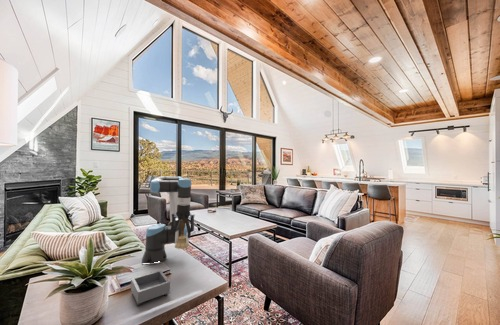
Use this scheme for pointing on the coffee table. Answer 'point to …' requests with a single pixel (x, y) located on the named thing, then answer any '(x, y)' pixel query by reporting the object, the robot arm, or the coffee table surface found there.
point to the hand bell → (182, 238)
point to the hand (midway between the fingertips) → (181, 242)
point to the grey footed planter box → (149, 286)
